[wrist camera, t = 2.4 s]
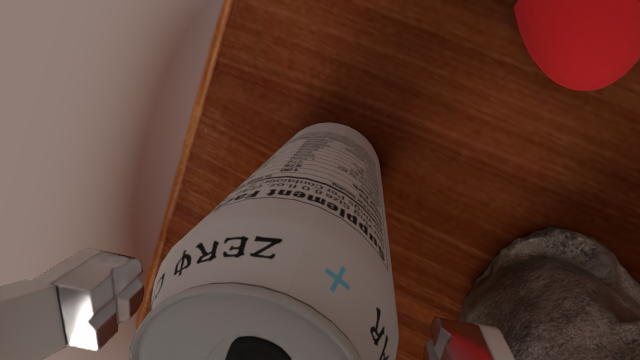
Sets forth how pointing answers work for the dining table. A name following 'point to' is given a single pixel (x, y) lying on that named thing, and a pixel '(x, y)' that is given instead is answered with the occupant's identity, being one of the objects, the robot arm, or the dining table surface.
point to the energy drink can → (283, 264)
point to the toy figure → (581, 39)
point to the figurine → (559, 299)
